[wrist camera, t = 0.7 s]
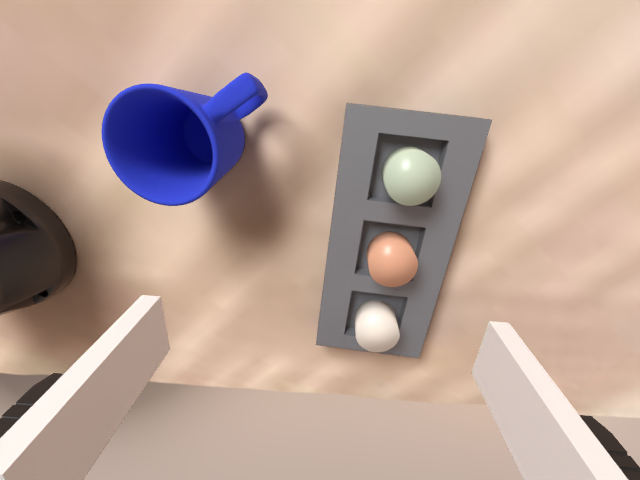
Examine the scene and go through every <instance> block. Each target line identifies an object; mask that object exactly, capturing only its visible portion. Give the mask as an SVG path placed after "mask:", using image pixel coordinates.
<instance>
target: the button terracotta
mask: <svg viewBox="0 0 640 480" xmlns="http://www.w3.org/2000/svg"><path fill="white" fill-rule="evenodd" d="M367 260H368V267H369V272H370V275H371V277H372V278H373V279H374V280H375V281H376V282H377V283H379V284H380V285H383V286H386V287H398V286H402V285H404V284H406V283H408V282H409V281H410V280H411V279H412V278H413V277H414V276H415V274H416V272H417V269H418V260H417V257H416V255H415V253H414V251H413V249H412V246H411V244H410V242H409V240H408V239H407V238H406V237H405V236H404V235H402V234H400V233H397V232H392V231H389V232H383V233H380V234H378V235H376V236H375V237H374V238H373V239H372V240H371V241H370V243H369V244H368V247H367Z"/></svg>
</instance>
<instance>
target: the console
mask: <svg viewBox="0 0 640 480" xmlns="http://www.w3.org/2000/svg"><path fill="white" fill-rule="evenodd" d="M491 122H492V120H490V119H482V118H475V117H466V116H457V115H449V114H440V113H431V112H422V111H414V110H405V109H396V108H387V107H379V106H370V105H361V104H352V103H347V104H346V112H345V120H344V127H343V135H342V143H341V151H340V159H339V167H338V175H337V182H336V190H335V198H334V206H333V214H332V222H331V230H330V237H329V245H328V253H327V261H326V269H325V277H324V285H323V292H322V300H321V308H320V316H319V324H318V332H317V341H316V345H320V346H328V347H336V348H343V349H351V350H359V351H366V352H371V351H368V350H365V349H364V348H362V347H361V346H360V345H359V344H358V342H357V340H356V333H355V312H356V310H357V308H358V307H359V306H360V305H361V304H363V303H365V302H367V301H371V300H380V301H384V302H386V303H388V304H389V305H390V306H391V307H392V308H393V310H394V312H395V316H396V320H397V324H398V328H399V333H400V337H399V340H398V342H397V344H396V345H395V346H394V347H393V348H391V349H389V350H387V351H384V352H374V353H382V354H390V355H397V356H405V357H413V358H419V356H420V353H421V350H422V347H423V343H424V340H425V337H426V334H427V330H428V327H429V324H430V321H431V317H432V314H433V311H434V308H435V304H436V301H437V298H438V295H439V291H440V288H441V285H442V282H443V278H444V275H445V272H446V269H447V265H448V262H449V259H450V256H451V252H452V249H453V246H454V243H455V239H456V236H457V233H458V230H459V226H460V223H461V220H462V217H463V213H464V210H465V207H466V204H467V200H468V197H469V194H470V191H471V187H472V184H473V181H474V178H475V174H476V171H477V168H478V165H479V161H480V158H481V155H482V151H483V148H484V145H485V142H486V138H487V135H488V132H489V129H490V125H491ZM405 146H412V147H416V148H419V149H421V150H423V151H424V152H426V153H427V154H429V155H430V156H432V157H433V158H434V159H435V160H436V161H437V163H438V165H439V167H440V170H441V182H440V185H439V188H438V190H437V191H436V193H435V194H434V195H433V196H432V197H431V198H430V199H429V200H428V201H426V202H424V203H422V204H419V205H415V206H406V205H402V204H399V203H397V202H396V201H394V200H393V199H392V198H391V197H390V195H389V194H388V192H387V190H386V188H385V186H384V183H383V181H382V177H381V170H382V165H383V163H384V161H385V159H386V158H387V156H388V155H389V154H390V153H392V152H393V151H394V150H396V149H398V148H401V147H405ZM389 231H392V232H397V233H400V234H402V235H404V236H405V237H406V238H407V239H408V240H409V242H410V244H411V246H412V249H413V251H414V253H415V255H416V257H417V260H418V269H417V272H416V274H415V276H414V277H413V278H412V279H411V280H410V281H409V282H408V283H406V284H404V285H402V286H398V287H386V286H383V285H380V284H379V283H377V282H376V281H375V280H374V279H373V278H372V277H371V275H370V272H369V267H368V260H367V247H368V244H369V243H370V241H371V240H372V239H373V238H374V237H375V236H376V235H378V234H380V233H383V232H389Z"/></svg>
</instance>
